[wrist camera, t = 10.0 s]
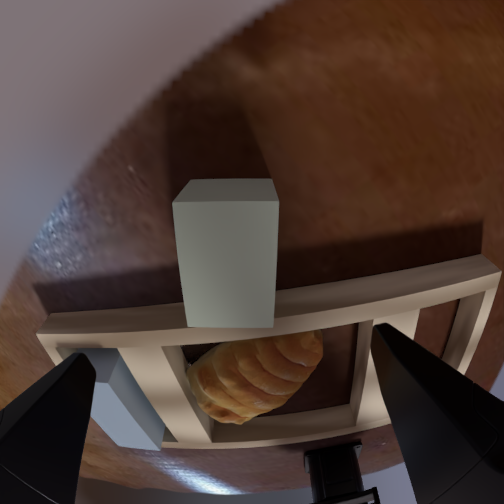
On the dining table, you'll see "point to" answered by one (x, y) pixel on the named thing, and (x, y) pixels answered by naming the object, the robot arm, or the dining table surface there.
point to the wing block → (122, 403)
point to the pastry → (253, 374)
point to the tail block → (227, 251)
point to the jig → (285, 322)
